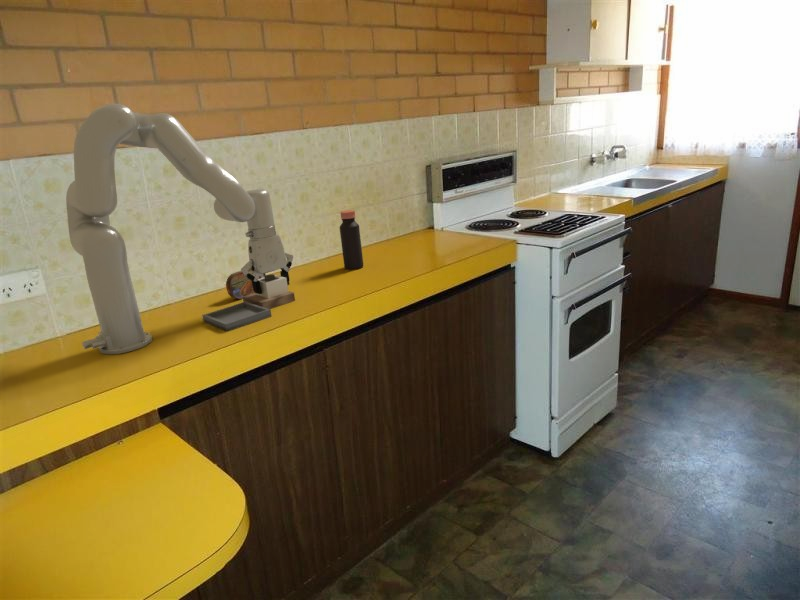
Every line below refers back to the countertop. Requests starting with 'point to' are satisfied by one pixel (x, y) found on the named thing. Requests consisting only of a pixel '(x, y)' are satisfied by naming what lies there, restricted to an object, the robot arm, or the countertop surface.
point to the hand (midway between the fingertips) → (272, 288)
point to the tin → (240, 285)
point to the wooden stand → (271, 301)
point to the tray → (236, 316)
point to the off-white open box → (273, 287)
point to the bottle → (351, 241)
